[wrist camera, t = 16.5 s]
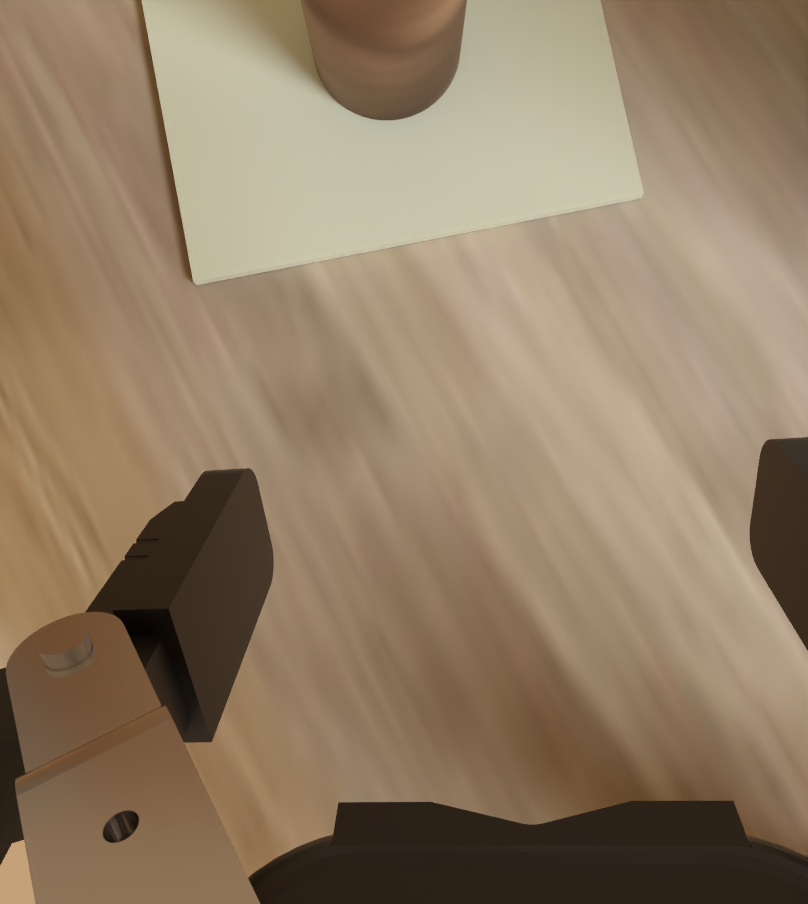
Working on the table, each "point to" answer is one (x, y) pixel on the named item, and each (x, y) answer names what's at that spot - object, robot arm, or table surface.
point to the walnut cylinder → (385, 52)
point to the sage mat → (380, 134)
